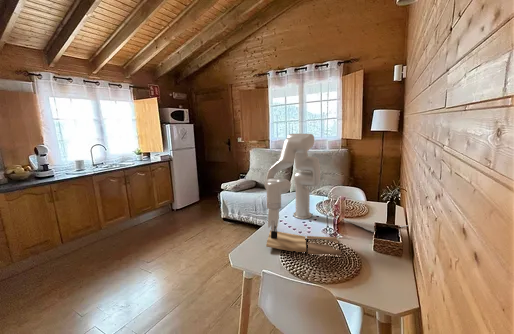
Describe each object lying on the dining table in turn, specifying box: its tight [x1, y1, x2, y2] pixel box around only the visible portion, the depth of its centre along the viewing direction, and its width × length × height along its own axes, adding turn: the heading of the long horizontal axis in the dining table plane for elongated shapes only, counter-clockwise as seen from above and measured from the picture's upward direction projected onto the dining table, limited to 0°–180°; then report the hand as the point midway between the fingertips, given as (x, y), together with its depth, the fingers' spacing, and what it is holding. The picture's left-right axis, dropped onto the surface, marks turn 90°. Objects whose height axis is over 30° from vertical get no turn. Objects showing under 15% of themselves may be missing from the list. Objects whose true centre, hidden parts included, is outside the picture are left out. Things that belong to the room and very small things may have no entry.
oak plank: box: [265, 229, 307, 253], centre depth 127 cm, size 16×20×2 cm
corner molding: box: [343, 218, 410, 233], centre depth 156 cm, size 30×2×30 cm
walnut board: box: [306, 235, 342, 255], centre depth 124 cm, size 18×16×2 cm
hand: (274, 237), depth 128 cm, fingers closed
